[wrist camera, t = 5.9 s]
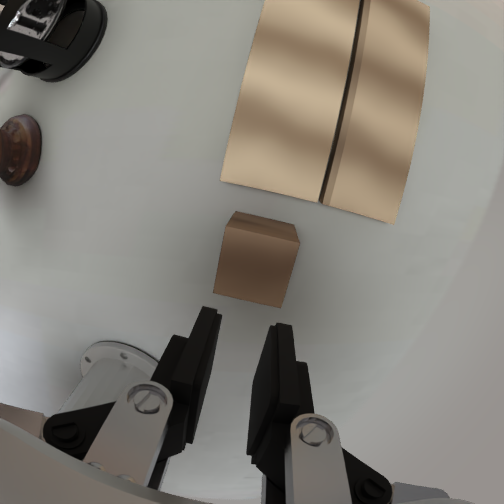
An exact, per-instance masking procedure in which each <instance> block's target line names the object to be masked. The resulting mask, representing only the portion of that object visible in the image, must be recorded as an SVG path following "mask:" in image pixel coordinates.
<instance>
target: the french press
mask: <svg viewBox="0 0 504 504" xmlns="http://www.w3.org/2000/svg"><path fill="white" fill-rule="evenodd" d="M0 4H1V5H4V6H5V7H4V8H3V10H2V12H1V11H0V67H3V68H9V69H14V70H19V71H21V72H22V73H23V74H25V75H28V76H33V77H38V78H40V79H41V80H43V81H46V82H57V81H61V80H64V79H66V78H68V77H69V76H71V75H72V74H74V73H75V72H77V71H78V70H79V69H80V68H81V67H82V66H83V65H84V64H85V63H86V62H87V61H88V60H89V59H90V57H91V56H92V55H93V53H94V52H95V50H96V49H97V47H98V45H99V44H100V42H101V39H102V37H103V35H104V32H105V29H106V24H107V14H106V10H105V8H104V6H103V5H102V4H101V3H100V2H98V1H96V0H0ZM81 9H84V10H85V13H84V17H83V20H82V24H81V26H80V28H79V30H78V32H77V34H76V35H75V37H74V39H73V40H72V42H71V43H70V45H69V46H68V47H67V49H65V48H62V47H60V46H57V45H54V44H52V43H49V42H46V41H47V40H48V39H49V37H50V36H51V34H52V33H53V31H54V29H55V28H56V26H57V24H58V22H59V20H61V19H62V18H63V17H64V16H66V15H67V14H69V13H71V12H73V11H76V10H81ZM43 62H45V63H49V64H51V65H50V66H48V67H46V66H45V65H44V63H43Z"/></svg>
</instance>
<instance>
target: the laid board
mask: <svg viewBox="0 0 504 504" xmlns="http://www.w3.org/2000/svg"><path fill="white" fill-rule="evenodd" d="M429 22H430V7H429V6H427V5H425V4H423V3H421V2H419V1H417V0H360V7H359V13H358V20H357V26H356V32H355V38H354V44H353V49H352V55H351V60H350V66H349V71H348V76H347V81H346V86H345V91H344V96H343V101H342V105H341V110H340V114H339V119H338V124H337V128H336V132H335V137H334V141H333V145H332V149H331V154H330V158H329V162H328V166H327V170H326V174H325V178H324V182H323V186H322V190H321V194H320V197H319V201H320V202H321V203H322V204H324V205H328V206H332V207H335V208H339V209H343V210H346V211H350V212H353V213H357V214H360V215H363V216H367V217H370V218H373V219H377V220H380V221H383V222H387V223H390V224H393V225H394V223H395V220H396V216H397V213H398V210H399V206H400V203H401V199H402V196H403V192H404V188H405V184H406V180H407V176H408V172H409V168H410V164H411V160H412V155H413V150H414V146H415V141H416V136H417V131H418V125H419V120H420V114H421V108H422V101H423V94H424V86H425V78H426V69H427V58H428V45H429Z"/></svg>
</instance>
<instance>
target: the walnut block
mask: <svg viewBox="0 0 504 504" xmlns="http://www.w3.org/2000/svg"><path fill="white" fill-rule="evenodd" d="M299 245H300V242H299V239H298V236H297V233H296V230H295V227H294V225H293V224H289V223H285V222H281V221H277V220H272V219H268V218H264V217H260V216H255V215H251V214H246V213H242V212H238V211H235V213H234V214H233V216H232V217H231V219H230V220H229V222H228V223H227V225H226V227H225V232H224V237H223V243H222V248H221V253H220V258H219V263H218V268H217V274H216V279H215V284H214V290H213V293H216V294H220V295H224V296H228V297H233V298H237V299H241V300H246V301H250V302H255V303H259V304H264V305H268V306H273V307H278V308H281V307H282V303H283V300H284V297H285V293H286V290H287V287H288V283H289V280H290V277H291V273H292V270H293V266H294V263H295V259H296V256H297V252H298V249H299Z"/></svg>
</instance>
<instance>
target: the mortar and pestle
mask: <svg viewBox="0 0 504 504" xmlns="http://www.w3.org/2000/svg"><path fill="white" fill-rule="evenodd" d="M40 149H41V138H40V131H39V128H38V125H37V123H36V122H35V120H34V119H33V118H31V117H30V116H28V115H25V114H23V115H18V116H15V117H12V118H10V119H9V120H8V121H7V122H5V123H4V125H3V126H2V127H1V129H0V177H1V179H2V180H3V181H4V182H6V184H8V185H13V186H19V185H21V184H23V183H24V182H26V181H27V180H29V179H30V178H31V176H32V174H33V173H34V172H35V170H36V168H37V166H38V162H39V157H40Z"/></svg>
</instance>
